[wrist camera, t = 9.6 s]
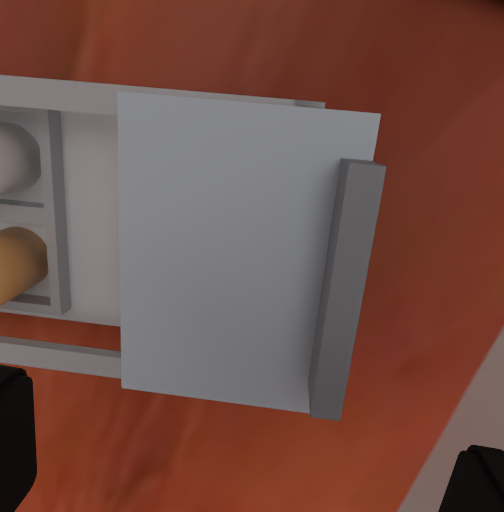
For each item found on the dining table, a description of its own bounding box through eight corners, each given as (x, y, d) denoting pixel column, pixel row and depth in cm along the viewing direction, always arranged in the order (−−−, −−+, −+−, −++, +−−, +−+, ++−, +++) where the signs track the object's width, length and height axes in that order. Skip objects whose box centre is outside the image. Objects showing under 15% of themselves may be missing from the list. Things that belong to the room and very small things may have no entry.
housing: (-103, 73, 23) (-231, 55, 18) (316, 109, 22) (325, 102, 16) (-66, 297, 28) (-159, 341, 22) (287, 341, 26) (286, 400, 20)
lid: (125, 93, 16) (86, 84, 13) (376, 114, 16) (396, 110, 13) (128, 378, 20) (99, 421, 17) (327, 405, 20) (333, 455, 17)
